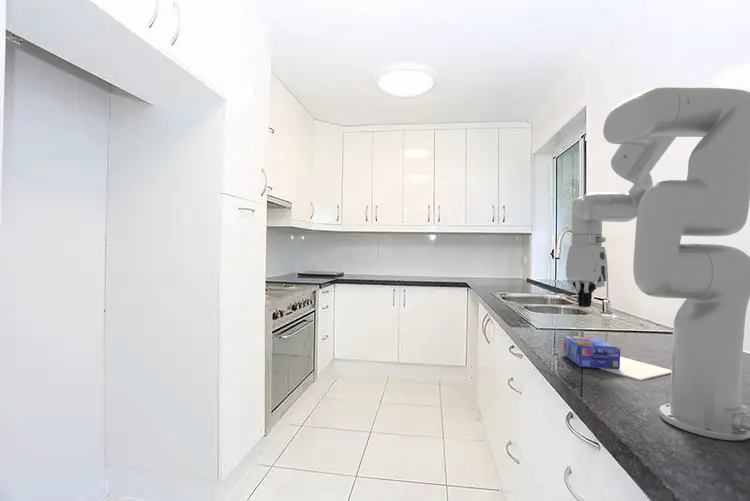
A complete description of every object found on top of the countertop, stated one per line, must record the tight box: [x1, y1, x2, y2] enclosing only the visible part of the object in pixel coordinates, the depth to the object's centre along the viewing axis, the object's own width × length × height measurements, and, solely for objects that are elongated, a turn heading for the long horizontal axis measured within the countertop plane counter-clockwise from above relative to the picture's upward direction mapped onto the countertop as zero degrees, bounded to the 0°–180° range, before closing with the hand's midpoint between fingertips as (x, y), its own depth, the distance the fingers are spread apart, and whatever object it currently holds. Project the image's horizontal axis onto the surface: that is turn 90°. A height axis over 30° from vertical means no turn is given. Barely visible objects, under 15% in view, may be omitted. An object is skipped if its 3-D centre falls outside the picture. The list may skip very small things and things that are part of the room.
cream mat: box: [598, 356, 671, 382], centre depth 104 cm, size 16×15×1 cm
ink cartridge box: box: [562, 335, 621, 369], centre depth 106 cm, size 10×6×14 cm
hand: (584, 306), depth 114 cm, fingers closed
